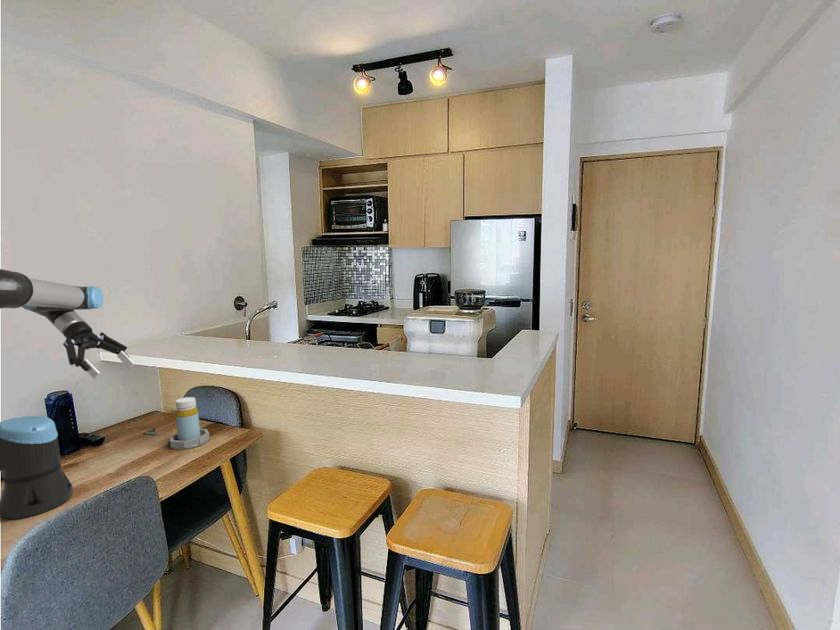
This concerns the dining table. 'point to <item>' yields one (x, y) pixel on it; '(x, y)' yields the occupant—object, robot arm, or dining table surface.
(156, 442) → the dining table surface
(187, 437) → the bottle
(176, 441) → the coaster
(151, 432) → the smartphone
